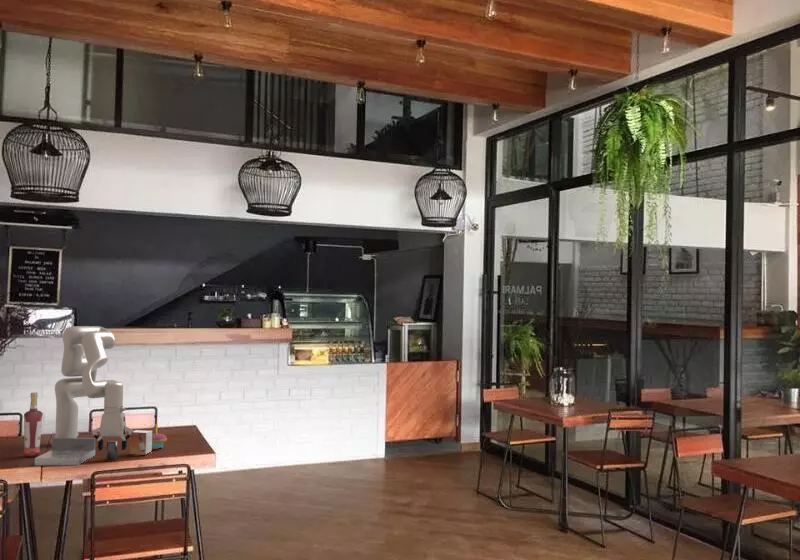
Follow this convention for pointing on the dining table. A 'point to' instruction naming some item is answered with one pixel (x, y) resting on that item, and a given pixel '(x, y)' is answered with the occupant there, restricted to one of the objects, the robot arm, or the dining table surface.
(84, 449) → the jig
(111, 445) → the bushing
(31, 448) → the liquor
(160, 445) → the cupcake
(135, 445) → the small box
